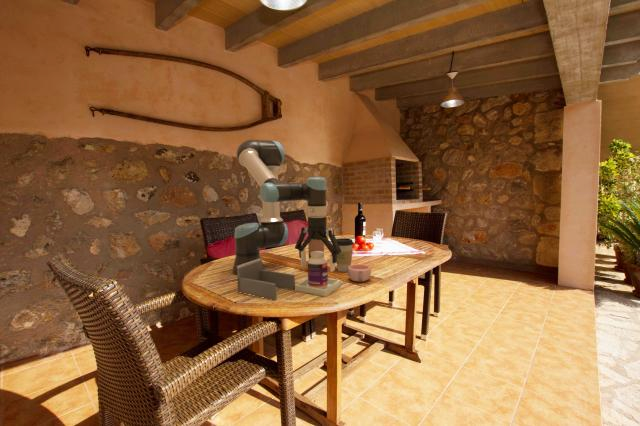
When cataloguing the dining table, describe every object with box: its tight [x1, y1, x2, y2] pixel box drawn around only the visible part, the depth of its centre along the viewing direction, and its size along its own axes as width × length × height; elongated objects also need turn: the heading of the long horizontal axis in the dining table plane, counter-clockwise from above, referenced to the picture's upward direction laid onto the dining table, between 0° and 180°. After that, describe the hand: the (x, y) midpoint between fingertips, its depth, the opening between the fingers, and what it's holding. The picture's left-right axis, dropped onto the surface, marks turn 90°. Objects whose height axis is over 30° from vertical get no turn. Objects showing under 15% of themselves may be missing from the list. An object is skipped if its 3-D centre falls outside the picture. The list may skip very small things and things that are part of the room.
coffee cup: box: [335, 237, 354, 273], centre depth 148 cm, size 10×10×15 cm
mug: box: [347, 263, 372, 283], centre depth 134 cm, size 12×10×6 cm
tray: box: [294, 277, 342, 298], centre depth 123 cm, size 14×14×2 cm
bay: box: [236, 258, 296, 301], centre depth 121 cm, size 18×13×11 cm
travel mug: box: [307, 232, 325, 259], centre depth 148 cm, size 8×8×20 cm
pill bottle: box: [307, 251, 329, 289], centre depth 122 cm, size 8×8×14 cm
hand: (317, 268), depth 123 cm, fingers open, 13 cm apart
